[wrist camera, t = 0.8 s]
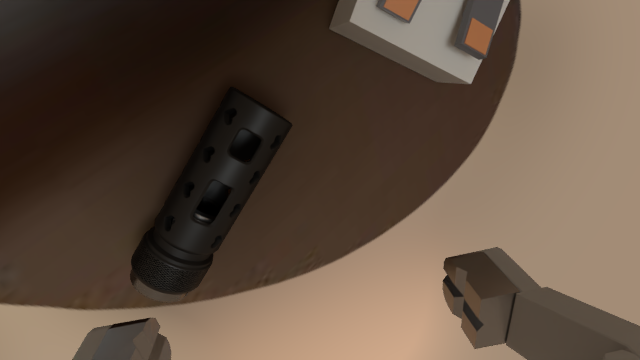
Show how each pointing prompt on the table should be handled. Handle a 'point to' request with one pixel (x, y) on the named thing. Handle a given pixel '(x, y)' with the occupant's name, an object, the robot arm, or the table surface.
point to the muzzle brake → (207, 198)
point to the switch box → (412, 36)
